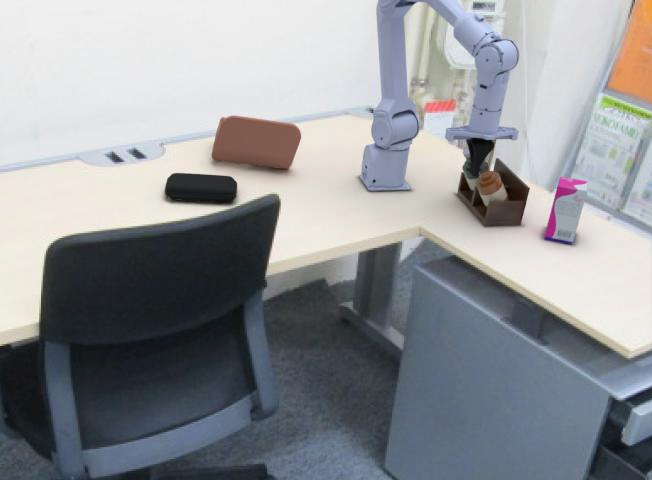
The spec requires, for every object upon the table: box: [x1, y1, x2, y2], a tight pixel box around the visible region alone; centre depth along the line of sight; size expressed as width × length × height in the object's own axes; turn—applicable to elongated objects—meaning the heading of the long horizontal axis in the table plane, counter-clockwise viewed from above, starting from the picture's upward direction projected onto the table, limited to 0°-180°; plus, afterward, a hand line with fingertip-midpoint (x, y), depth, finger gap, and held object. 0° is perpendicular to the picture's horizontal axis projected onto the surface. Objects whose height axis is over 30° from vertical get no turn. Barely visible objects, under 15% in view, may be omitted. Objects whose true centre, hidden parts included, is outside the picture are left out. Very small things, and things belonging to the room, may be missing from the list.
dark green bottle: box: [462, 147, 486, 195], centre depth 188 cm, size 5×5×10 cm
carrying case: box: [164, 172, 238, 204], centre depth 185 cm, size 11×3×15 cm
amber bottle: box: [476, 162, 510, 210], centre depth 182 cm, size 5×5×10 cm
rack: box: [456, 157, 531, 227], centre depth 187 cm, size 8×16×8 cm, turn 12°
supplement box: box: [543, 176, 589, 245], centre depth 178 cm, size 6×6×12 cm
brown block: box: [211, 115, 302, 170], centre depth 200 cm, size 16×17×15 cm
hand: (473, 174), depth 179 cm, fingers closed, pressing on amber bottle
